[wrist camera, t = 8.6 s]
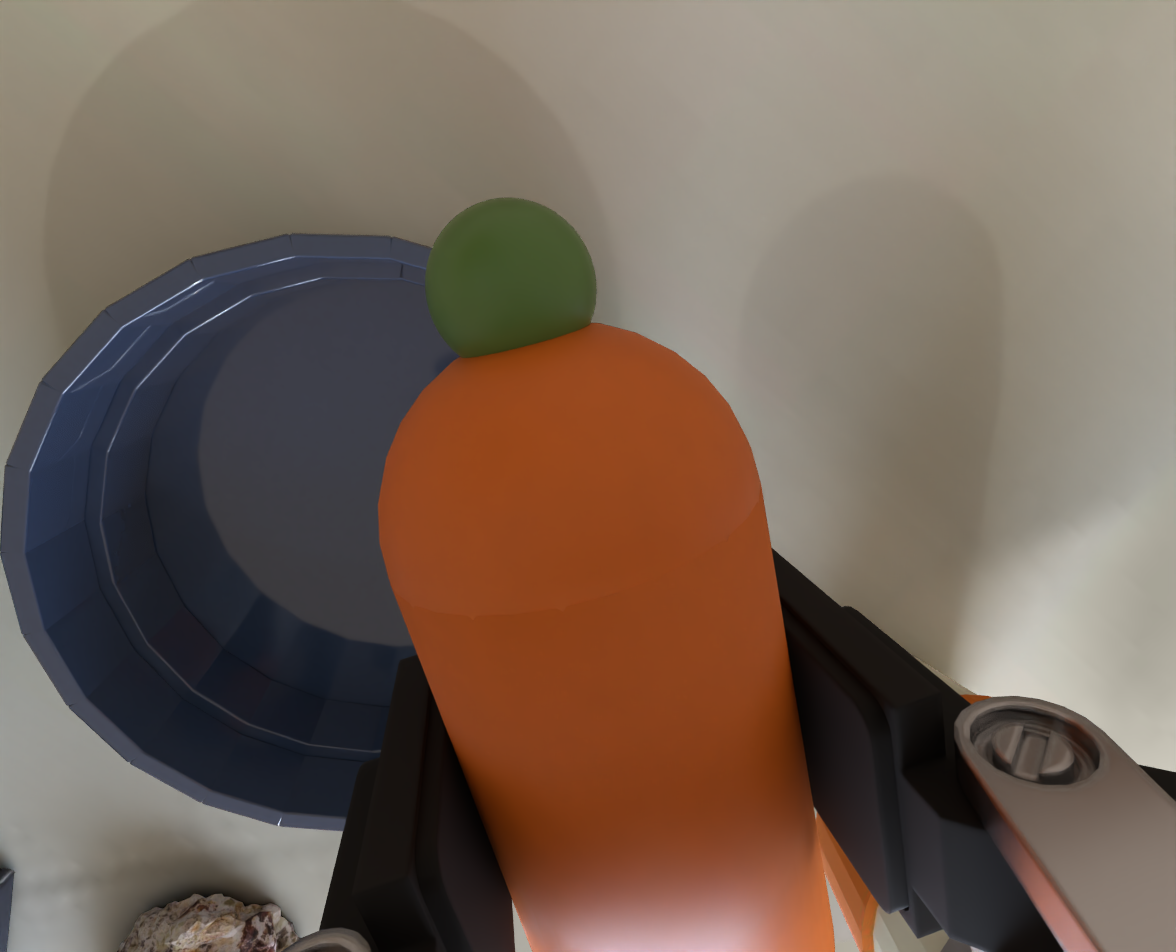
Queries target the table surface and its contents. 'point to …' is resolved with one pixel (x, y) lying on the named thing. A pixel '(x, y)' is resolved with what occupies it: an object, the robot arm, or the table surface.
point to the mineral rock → (210, 927)
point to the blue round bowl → (227, 518)
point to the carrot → (599, 612)
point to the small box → (5, 905)
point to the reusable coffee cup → (876, 933)
